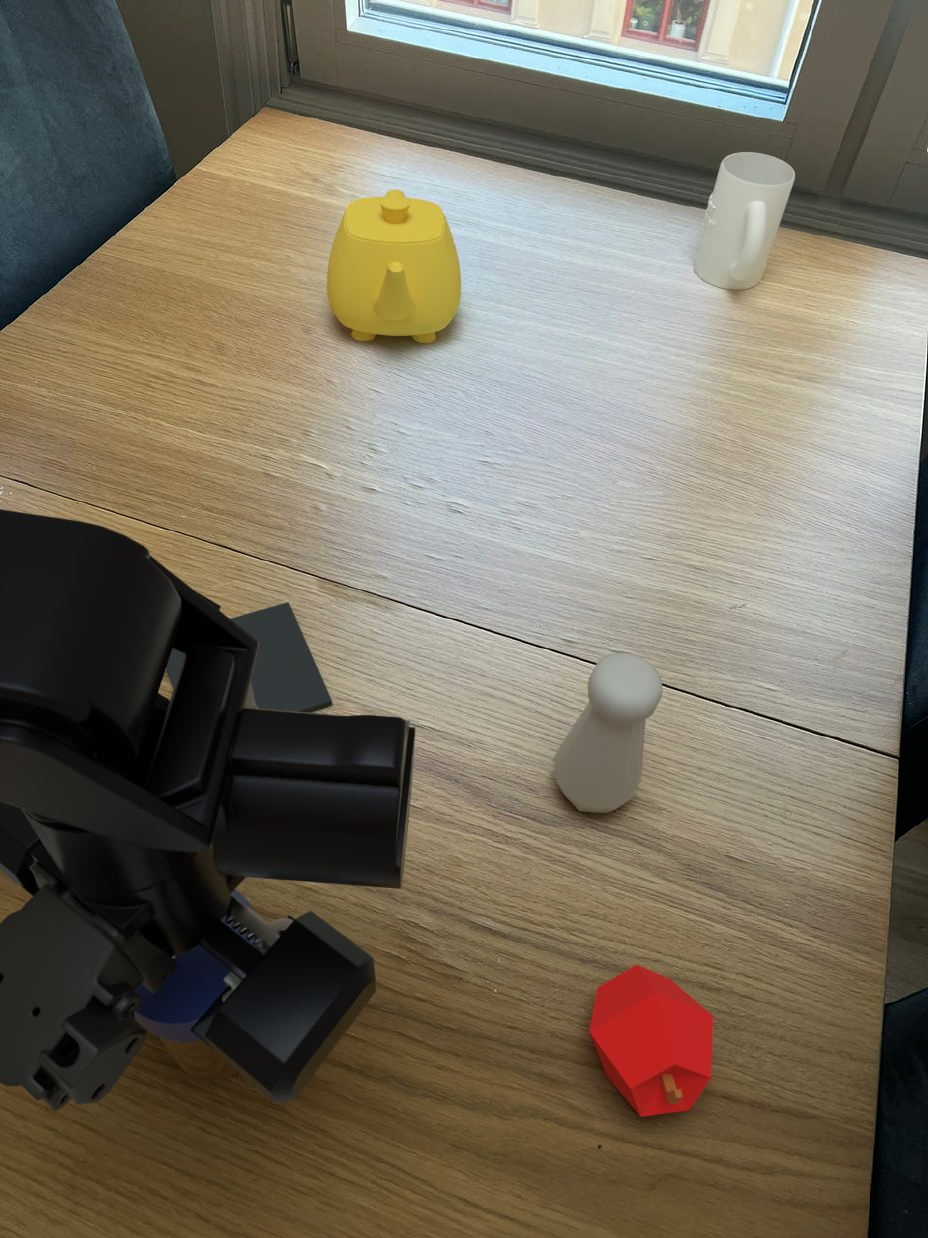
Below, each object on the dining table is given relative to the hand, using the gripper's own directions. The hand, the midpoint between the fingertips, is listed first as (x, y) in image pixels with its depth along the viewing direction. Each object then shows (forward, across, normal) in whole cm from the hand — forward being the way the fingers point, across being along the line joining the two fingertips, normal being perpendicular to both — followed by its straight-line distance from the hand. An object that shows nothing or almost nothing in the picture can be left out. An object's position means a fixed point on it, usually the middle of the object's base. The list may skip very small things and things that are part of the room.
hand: (197, 970), depth 46 cm
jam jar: (+8, 0, 0) cm, 8 cm away
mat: (+8, -16, +19) cm, 26 cm away
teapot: (+8, -35, +61) cm, 71 cm away
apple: (+8, +20, +12) cm, 25 cm away
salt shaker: (+8, +9, +26) cm, 29 cm away
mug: (+8, -11, +94) cm, 95 cm away
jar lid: (-3, 0, 0) cm, 3 cm away
